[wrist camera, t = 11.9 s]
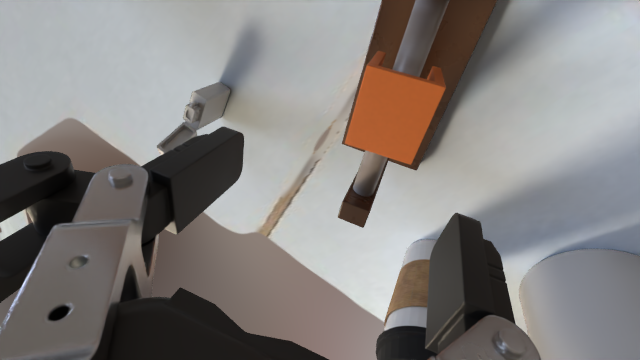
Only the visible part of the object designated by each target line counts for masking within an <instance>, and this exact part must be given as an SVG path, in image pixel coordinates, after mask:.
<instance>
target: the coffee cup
mask: <svg viewBox="0 0 640 360" xmlns="http://www.w3.org/2000/svg"><path fill="white" fill-rule="evenodd" d="M436 242H437V241H436V240H429V239H426V240H419V241H416V242H414V243H413V244H411V245H410V246H409V247H408V248H407V250H406V253H405V256H404V260H403V264H402V267H401V271H400V273H399V276H398V279H397V283H396V286H395V289H394V292H393V295H392V299H391V302H390V305H389V308H388V312H387V315H386V318H385V324H384V325H385V330H384V332H383V333H382V334H381V335H379V338H378V339H377V344H376V347H377V348H376V356H377V360H428V359H429V358H430V357H432V356H437V355H438V354H437V353H435V352H433V351H430V350H428V349H426V348H425V341H426V322H427V302H428V283H429V263H430V256H431V252H432V250H433V247H434V245H435V243H436Z"/></svg>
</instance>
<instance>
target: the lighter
mask: <svg viewBox="0 0 640 360" xmlns="http://www.w3.org/2000/svg"><path fill="white" fill-rule="evenodd" d="M229 94H230V89H229V88H228V87H226V86H225V85H223V84H222V83H221V82H218V83H215V84H212V85H209V86H207V87H204V88H201V89H199V90H196V91H193V92H192V95H191V99H190V103H189V104H188V105H186V108H185V112H184V116H183V119H184V120H185V122H183V123H182V124H181V125H180V126H179V127H178V128H177V129H175V130H174V131H173V132H172V133H171V134H170V135H169V136H168V137H166V138H165V139H164V140H163V141H162V142H161V143H160V144H158V145H157V149H158V151H159V153H160V154H161V155H163V154H164V153H166V152H168V151H170V150H173V149H174V148H175V147H177V146H179V145H182V143H184V142H186V141H188V140H189V139H191V138H193V137H197V131H196V130H198V129H200V128H202V127H204V126H206V125H207V124H209V123H211V122H213V121H215V120H217V119H219V118H221V117H222V114H223V111H224V109H225V106H226V103H227V100H228V97H229Z"/></svg>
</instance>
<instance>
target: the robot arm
mask: <svg viewBox="0 0 640 360" xmlns="http://www.w3.org/2000/svg"><path fill="white" fill-rule="evenodd" d="M243 149H244V136H243V134H242V133H240V132H237V131H235V130H232V129H229V128H226V127H221V128H219V129H217V130H216V131H214V132H212V133H210V134H209V135H208V134H205V135H201V136H197V137H193V138H191V139H189V140H188V141H186V142H184V143H182V145H179V146H177V147H175V148H174V149H173V150H170V151H168V152H166V153H164V154H163V155H161V156H159V157H157V158H156V159H154V160H152V161H150V162H148V163H147V164H145V165H143V166H141V167H140V166H137V165H131V164H119V165H113V166H109V167H106V168H104V169H102V170H100V171H98V172H97V173H92V172H85V171H79V170H74V169H73V166H72V163H71V160H70V158H69V157H68V156H67V155H65V154H63V153H59V152H52V151H50V152H49V151H45V152H35V153H31V154H27V155H23V156H20V157H18V158H15V159H13V160H10V161H8V162H6V163H3V164H1V165H0V222H2V221H4V220H6V219H8V218H10V217H11V216H13V215H15V214H17V213H19V212H20V211H22V210H24V209H26V211H27V213H28V215H29V217H30V219H31V221H32V223H30V224H29V225H27V226H25V227H24V228H22V229H20V230H19V231H17V232H15V233H14V234H12V235H10V236H9V237H7V238H5V239H3V240H2V241H0V302H1V301H3V300H4V299H6V298H7V297H8V296H10V295H11V294H13V293H14V292H15V291H17V290H18V289H19V288H21V289H20V291H19V293H18V295H17V297H16V299H15V301H14V303H13V304H12V306H11V308H10V310H9V312H8V314H7V316H6V318H5V320H4V322H3V324H2V326H1V328H0V360H329V359H326V358H325V357H323V356H320V355H318V354H316V353H314V352H312V351H310V350H308V349H306V348H304V347H302V346H300V345H298V344H296V343H293V342H292V341H287V340H281V339H276V338H271V337H266V336H260V335H255V334H250V333H247V332H245V331H244V330H242V329H241V328H240V327H239V326H238V325H237V324H236V323H235V322H234V321H233V320H231V319H230V318H229V317H228V316H227V315H226V314H225V313H224V312H223V311H222V310H221V309H219V308H218V307H217V306H216V305H215V304H213V303H211V302H209V301H207V300H205V299H203V298H201V297H199V296H197V295H195V294H193V293H191V292H189V291H187V290H185V289H183V288H179V289H178V290H177V292H176V293H175V294H174V295H173V296H172V297H171V298H167V297H165V298H164V297H152V283H153V276H154V269H155V263H156V255H157V248H158V242H159V236H158V234H159V233H160V232H161V231H162V230H164V229H166V230H168V231H170V232H172V233H174V234H178V233H179V232H181V231H182V230H183V229H184V228H185V227H186V226H187V225H188V224H189V223H190V222H192V221H193V220H194V219H195V218H196V217H197V216H198V215H199V214H201V213H202V212H203V211H204V210H205V209H206V208H207V207H209V206H210V205H211V204H212V203H213V202H214V201H215V200H216V199H217V198H219V197H220V196H221V195H222V194H223V193H224V192H225V191H226V190H228V189H229V188H230V187H231V186H232V185H233V184H234V183H235V182H236V181H237V180H238V179H239V177H240V175H241V172H242V166H243ZM505 281H506V279H505V275H504V272H503V266H502V261H501V256H500V254H499V253H498V251H497V250H496V248H495V247H494V245H493V244H492V242H490V241H488V240H485V239H483V234H482V228H481V223H480V221H477V220H475V219H472V218H469V217H467V216H464V215H461V214H458V213H455V214H454V215H453V216H452V218H451V219H450V221H449V222H448V224H447V226H446V227H445V229H444V230H443V232H442V234H441V235H440V237H439V238H438V240H437V242H436V243H435V245H434V247H433V250H432V252H431V256H430V263H429V283H428V302H427V322H426V341H425V348H426V349H428V350H430V351H433V352H435V353H437V354H438V355H437V356H432V357H430V358H429V359H428V360H541V358H540V355H539V352H538V350H537V348H536V346H535V345H534V343H533V342H532V340H531V339H530V338H529V337H528V335H527V334H526V333H525V332H524V331H523V330H521V329H520V328H519V327H518V326H517V325H516V324H515V320H514V315H513V311H512V306H511V302H510V297H509V293H508V288H507V284H506V283H505Z"/></svg>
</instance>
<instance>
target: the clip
mask: <svg viewBox="0 0 640 360" xmlns="http://www.w3.org/2000/svg"><path fill="white" fill-rule="evenodd" d="M385 55H386V53H385V52H382V51H377V53H376V54H375V55H374V57H373V58H372V59H371V61H370V62H369V63H368V64H367V66H366V70H365V73H364V77H363V80H362V84H361V87H360V91H359V94H358V98H357V101H356V105H355V109H354V112H353V116H352V119H351V123H350V126H349V130H348V133H347V137H346V140H345V144H348V145H351V146H354V147H357V148H360V149H363V150H366V151H369V152H372V153H375V154H379V155H382V156H385V157H388V158H391V159H394V160H397V161H400V162H403V163H407V164H410V165H411V164H412V162H413V160H414V158H415V155H416V153H417V151H418V149H419V147H420V144H421V142H422V140H423V138H424V136H425V133H426V131H427V129H428V127H429V125H430V122H431V120H432V118H433V116H434V114H435V111H436V109H437V107H438V105H439V103H440V100H441V98H442V96H443V94H444V92H445V89H446V85H445V82H444V78H443V74H442V70H441V68H439V67H435V66H432V68H431V71H430V73H429V76H428V78H427V79H423V78H420V77H416V76H413V75H409V74H406V73H402V72H399V71H395V70H392V69H388V68H385V67H382V65H383V61H384V58H385Z"/></svg>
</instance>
